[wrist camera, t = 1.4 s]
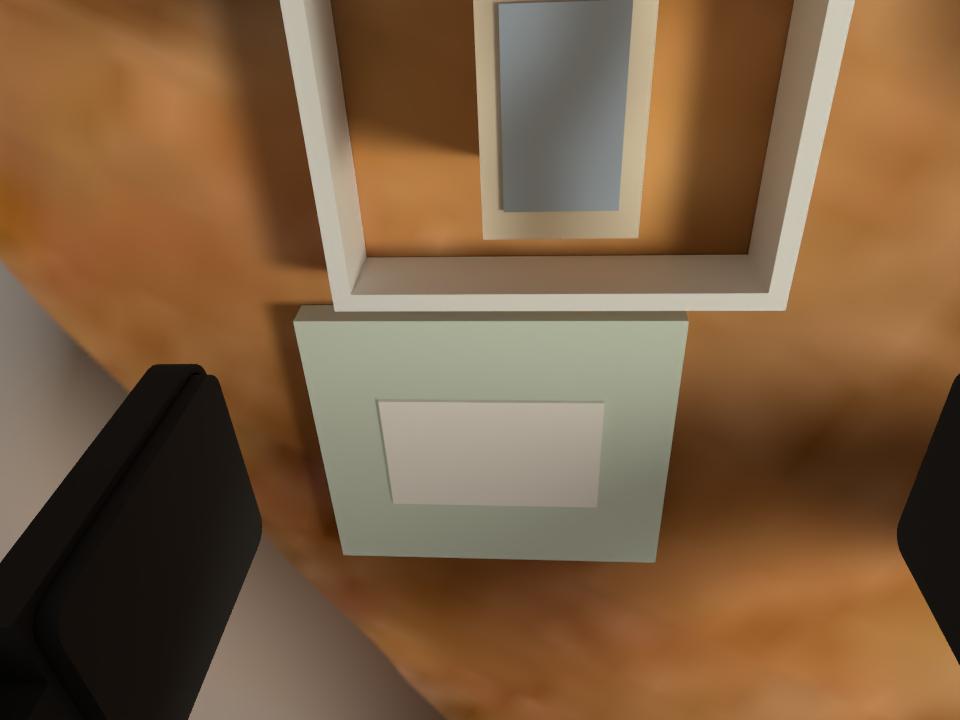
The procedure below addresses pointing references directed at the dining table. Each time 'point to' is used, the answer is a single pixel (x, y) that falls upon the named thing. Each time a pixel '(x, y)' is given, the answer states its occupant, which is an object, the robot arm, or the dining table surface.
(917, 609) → the dining table surface
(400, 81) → the dining table surface
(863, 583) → the dining table surface
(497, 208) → the beech box
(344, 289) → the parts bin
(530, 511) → the sage board
